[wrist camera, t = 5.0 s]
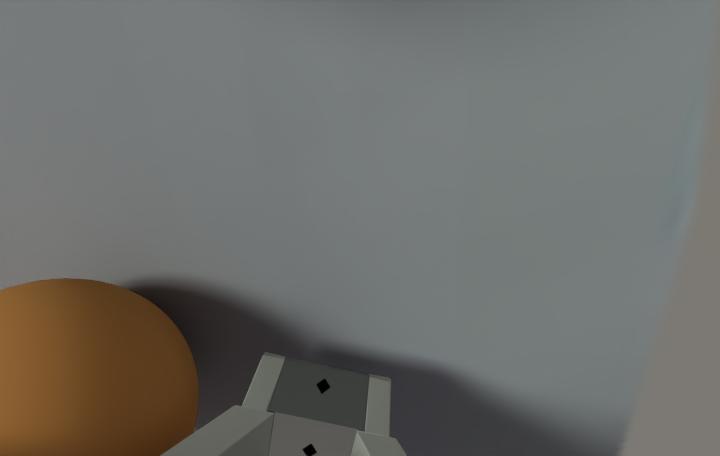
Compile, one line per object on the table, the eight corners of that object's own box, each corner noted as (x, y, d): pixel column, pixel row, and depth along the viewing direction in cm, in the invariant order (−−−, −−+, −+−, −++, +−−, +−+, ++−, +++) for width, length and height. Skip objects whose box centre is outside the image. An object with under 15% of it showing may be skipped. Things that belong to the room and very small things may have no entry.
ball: (15, 212, 10) (-335, 383, 5) (242, 263, 10) (98, 479, 6) (40, 382, 13) (-189, 609, 8) (226, 423, 13) (114, 674, 8)
